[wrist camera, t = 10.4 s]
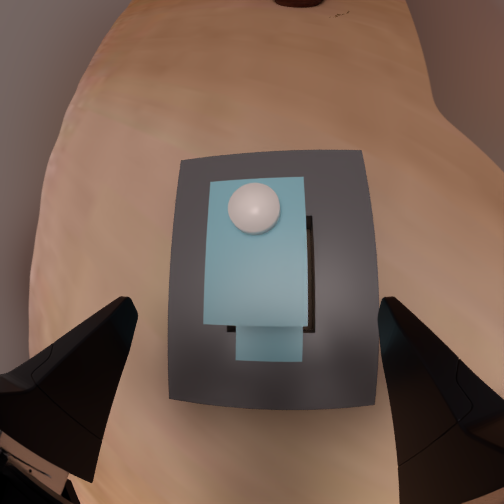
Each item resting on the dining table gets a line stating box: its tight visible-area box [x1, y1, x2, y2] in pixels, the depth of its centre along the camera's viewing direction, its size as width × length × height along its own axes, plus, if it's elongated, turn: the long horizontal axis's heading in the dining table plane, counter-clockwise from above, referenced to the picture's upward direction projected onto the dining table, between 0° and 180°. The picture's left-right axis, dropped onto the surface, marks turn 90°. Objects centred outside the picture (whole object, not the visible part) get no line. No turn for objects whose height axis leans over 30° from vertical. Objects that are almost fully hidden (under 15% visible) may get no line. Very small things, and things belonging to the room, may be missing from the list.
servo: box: [203, 177, 308, 362], centre depth 15 cm, size 11×4×11 cm, turn 179°
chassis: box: [168, 150, 379, 410], centre depth 19 cm, size 18×14×3 cm
